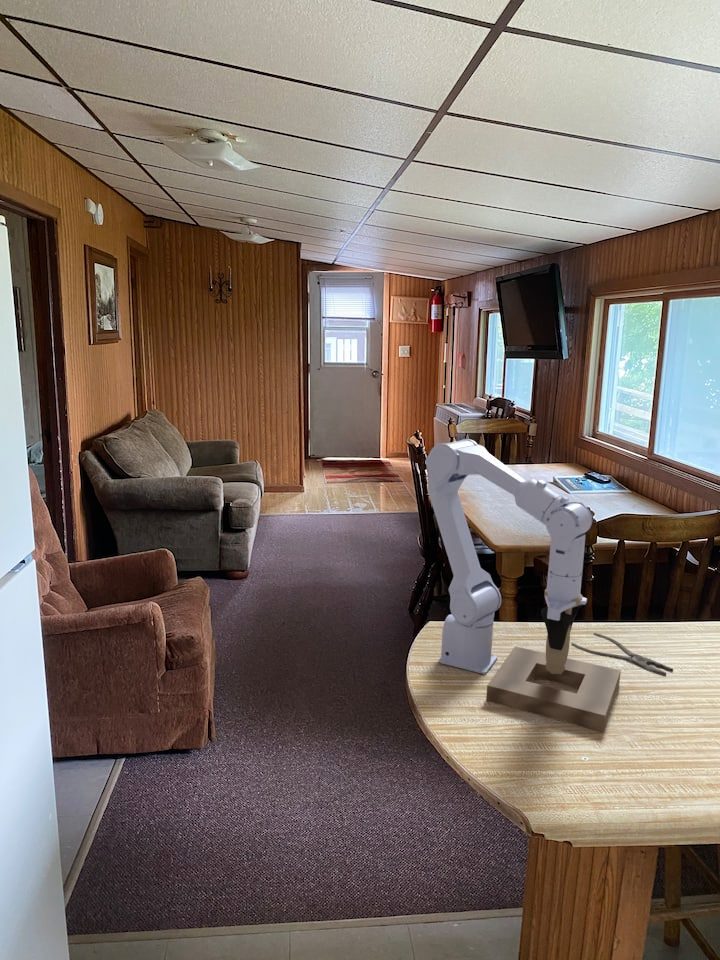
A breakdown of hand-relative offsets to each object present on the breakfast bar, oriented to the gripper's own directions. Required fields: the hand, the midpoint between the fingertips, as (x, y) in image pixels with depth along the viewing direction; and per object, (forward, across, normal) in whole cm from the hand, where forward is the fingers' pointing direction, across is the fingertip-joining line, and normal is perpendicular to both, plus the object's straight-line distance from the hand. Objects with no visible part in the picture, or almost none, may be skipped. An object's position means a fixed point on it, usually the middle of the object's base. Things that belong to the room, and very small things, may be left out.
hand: (558, 643), depth 126 cm
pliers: (+10, +24, -9) cm, 28 cm away
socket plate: (+10, 0, 0) cm, 10 cm away
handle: (+6, 0, 0) cm, 6 cm away
